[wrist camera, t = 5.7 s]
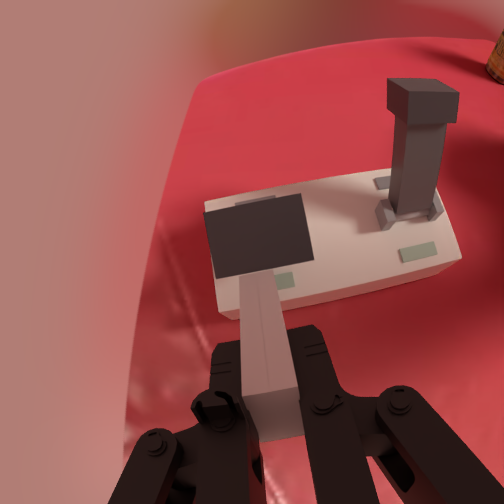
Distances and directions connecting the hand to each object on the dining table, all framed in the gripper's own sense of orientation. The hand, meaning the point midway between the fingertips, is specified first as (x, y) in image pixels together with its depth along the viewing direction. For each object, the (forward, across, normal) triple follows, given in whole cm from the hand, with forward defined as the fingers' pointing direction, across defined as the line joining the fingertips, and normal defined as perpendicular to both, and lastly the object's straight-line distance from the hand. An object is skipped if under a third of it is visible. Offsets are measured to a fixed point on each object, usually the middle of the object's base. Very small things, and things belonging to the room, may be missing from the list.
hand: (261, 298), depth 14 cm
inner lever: (+11, +14, -2) cm, 18 cm away
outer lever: (+11, +1, -2) cm, 11 cm away
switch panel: (+16, +7, -7) cm, 19 cm away
